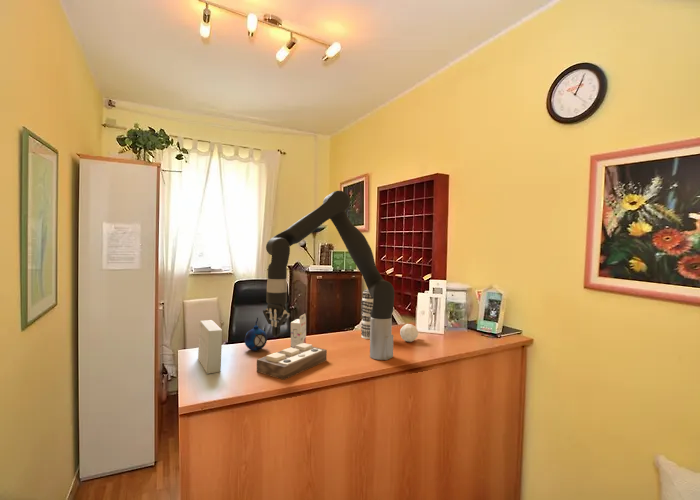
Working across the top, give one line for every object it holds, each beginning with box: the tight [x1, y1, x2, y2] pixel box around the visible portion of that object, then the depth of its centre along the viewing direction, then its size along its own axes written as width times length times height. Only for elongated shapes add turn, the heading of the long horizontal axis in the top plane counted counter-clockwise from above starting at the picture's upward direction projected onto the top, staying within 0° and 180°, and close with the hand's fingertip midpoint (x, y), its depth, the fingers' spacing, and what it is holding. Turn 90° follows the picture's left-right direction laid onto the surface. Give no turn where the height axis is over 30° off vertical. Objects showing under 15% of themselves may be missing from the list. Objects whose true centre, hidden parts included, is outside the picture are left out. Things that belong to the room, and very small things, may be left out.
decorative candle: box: [360, 288, 373, 340], centre depth 180 cm, size 9×9×25 cm
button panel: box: [256, 346, 328, 381], centre depth 136 cm, size 14×25×4 cm, turn 147°
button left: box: [265, 351, 286, 363], centre depth 130 cm, size 5×5×3 cm
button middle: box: [281, 346, 300, 357], centre depth 137 cm, size 5×5×3 cm
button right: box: [295, 342, 313, 352], centre depth 144 cm, size 5×5×3 cm
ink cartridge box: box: [290, 313, 307, 347], centre depth 164 cm, size 9×5×15 cm, turn 168°
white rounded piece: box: [399, 323, 419, 343], centre depth 174 cm, size 9×9×12 cm
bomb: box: [244, 317, 268, 352], centre depth 155 cm, size 10×11×15 cm
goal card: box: [278, 347, 323, 365], centre depth 134 cm, size 4×21×1 cm, turn 147°
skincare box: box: [197, 319, 223, 375], centre depth 136 cm, size 21×5×16 cm, turn 32°
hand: (276, 336), depth 130 cm, fingers closed
